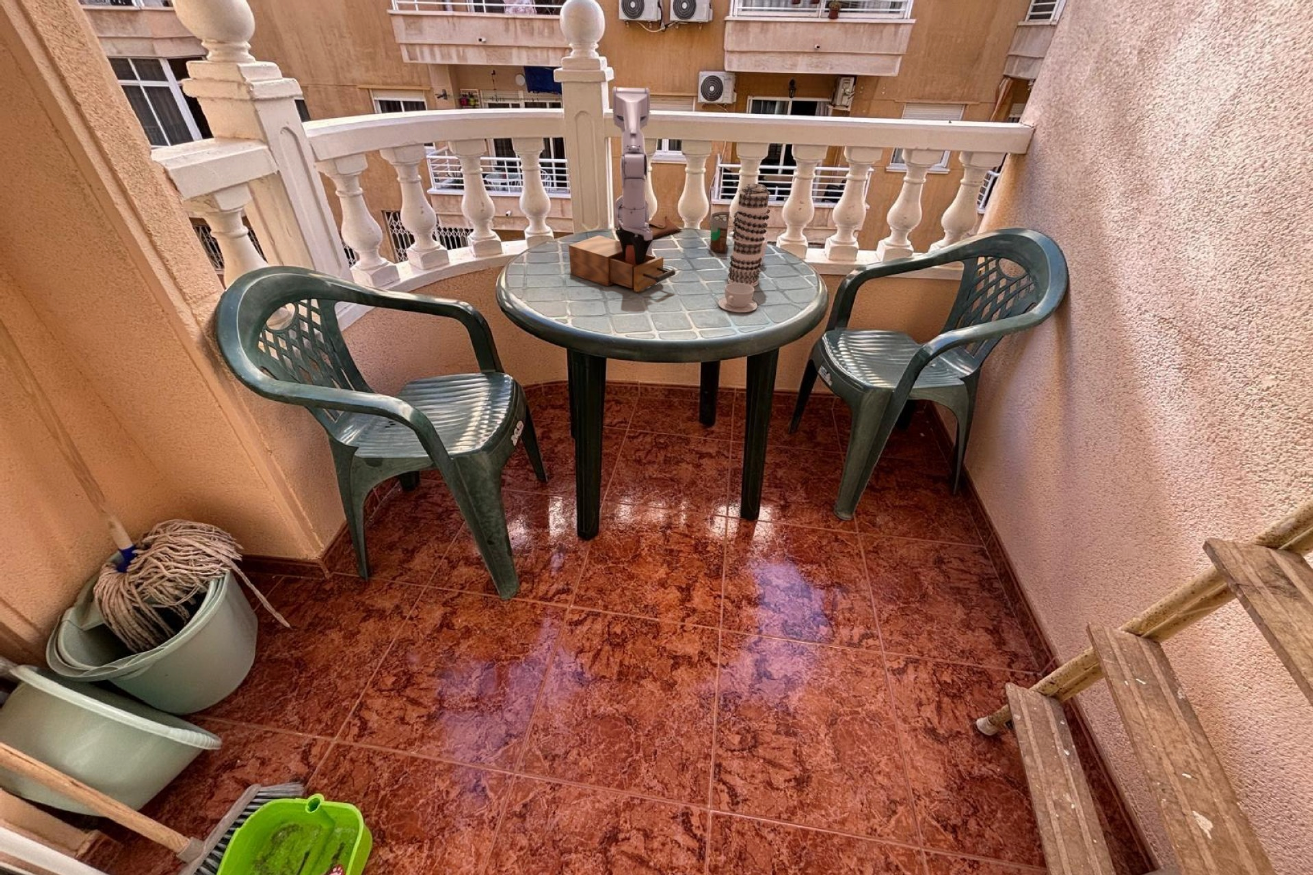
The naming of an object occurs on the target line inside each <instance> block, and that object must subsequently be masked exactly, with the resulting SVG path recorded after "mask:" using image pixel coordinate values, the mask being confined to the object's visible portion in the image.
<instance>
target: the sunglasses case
mask: <svg viewBox="0 0 1313 875" xmlns="http://www.w3.org/2000/svg"><path fill="white" fill-rule="evenodd" d="M649 230H650V231H652V232H653V237H652V238H653V240H654V239H658V238H661V237H665V236H669V235H673V234H676V233H678V232H680V231H682V228H680V227H678V226H677V225H676V224H675V223H674V222H673V221H672V220H670V219H669V217H668V216H664V217H661V218H656V219H652V220H649Z"/></svg>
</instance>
